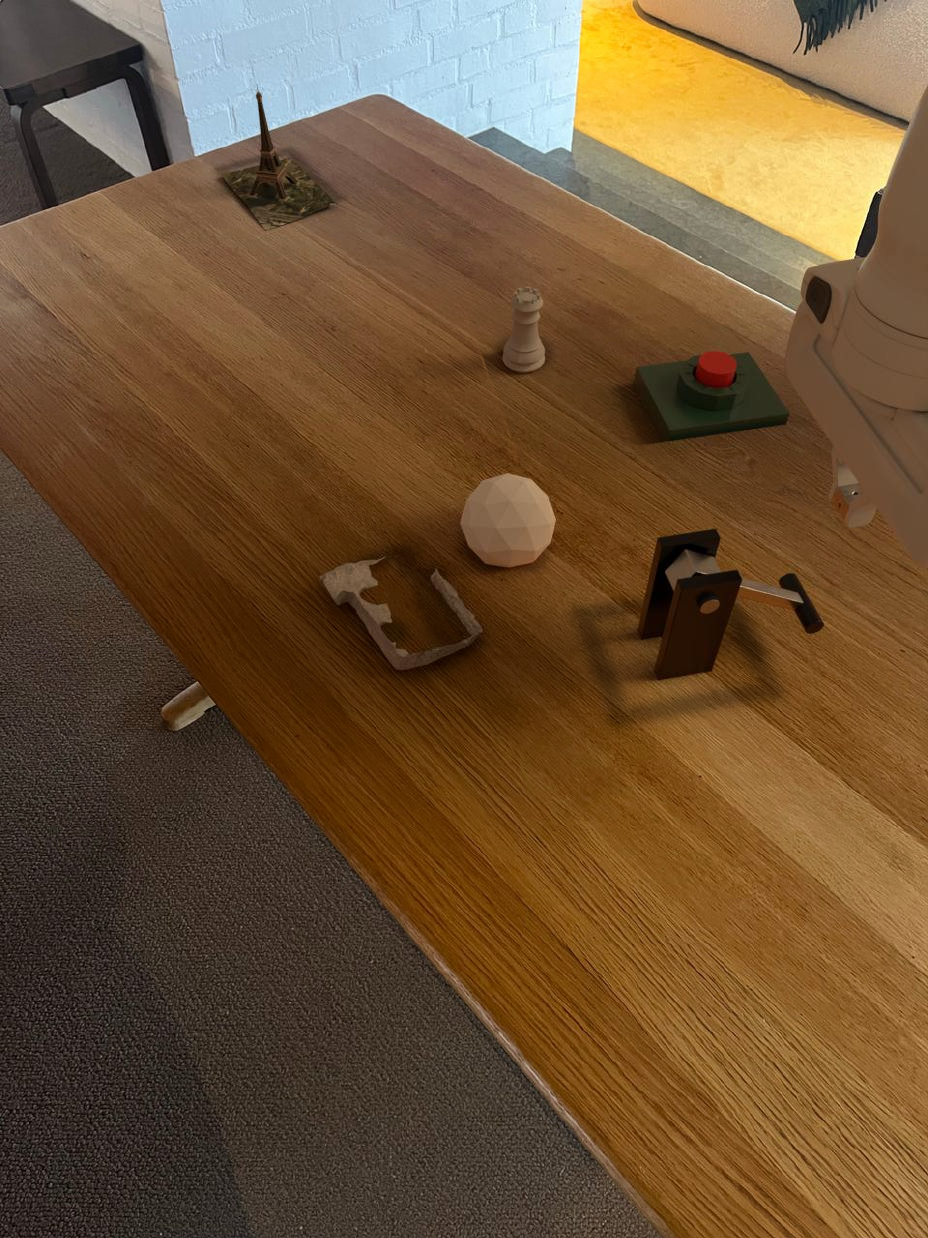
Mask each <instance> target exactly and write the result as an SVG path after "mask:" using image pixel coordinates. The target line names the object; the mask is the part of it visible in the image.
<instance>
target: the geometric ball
mask: <svg viewBox="0 0 928 1238" xmlns="http://www.w3.org/2000/svg"><path fill="white" fill-rule="evenodd" d="M556 521H557V519H556V516H555V513H554V510H553V507H552V503H551V501H550V498H549V496H548V495H547V494H546V492H544V491H543V490H542V488H540V487H539V486H538V485H537V483H536V482H534V480H532V479H531V478H529V477H524V476H520V475H517V474H513V473H509V472H506V473H502V474H499V475H496V476H493V477H490V478H489V477H488V478H486V479H483V480H482V481H480V483H479V484H478V485H477V486H476V488H475V489H474V490H473V491H472V492H471V494H470V495H469V496H468V497H467V498H466V500H465V503H464V507H463V511H462V515H461V519H460V522H459V524H460V527H461V530H462V532H463V535H464V538H465V541H466V544H467V546H468V548H469V549H470V550H472V552H473V553H474V554H475V555H476V556H477V557H478V558H479V559H480V560H481V561H482V562H483V563H484V564H486V565H489V566H496V567H503V568H513V567H519V566H524V565H528V564H531V563H534V562H535V561H536V560H537V559H538V558H539V556H540V555H542V554H543V552H544V551H545V550H546V549H547V548H548V547H549V546H550V545H551V542H552V540H553V539H552V538H553V534H554V530H555V525H556Z"/></svg>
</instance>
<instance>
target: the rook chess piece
mask: <svg viewBox="0 0 928 1238" xmlns="http://www.w3.org/2000/svg"><path fill="white" fill-rule="evenodd" d="M509 303H510V306H511V307H512V309H513V310H514V311H513V312H512V314H511V318H512V320H513V326H512V329H511V333H510V337H508V339H507V341H506V342H505V343H504V346H503V350H502V352H503V354H502V358H501V360H502V362H503V364H504V365H505V367H506V368H508V369H509V370H511V371H513V372H515V373H519V374H529V373H534V372H535V371H538V370H539V369H540V368H541V367H542V365H544V364H545V361H546V356H545V353H546V349H545V346H544V344H543V342H542V339H541V337H540V335H539V326H538V325H539V324H538V321H539V320H540V319H541V313H540V312H539V310H540V309H541V308H542V307H543V306H544V300H543V299H542V297H541V293H540V292H539V289H538V288H536V287H535V288H533V291H532V287H531V286H527V285H526V286H525V290H523V288H522V287H518V288H517V289H516V291H515V290H514V294H513V296H512V298H511V299H510V301H509Z"/></svg>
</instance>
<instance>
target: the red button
mask: <svg viewBox="0 0 928 1238" xmlns="http://www.w3.org/2000/svg"><path fill="white" fill-rule="evenodd" d="M700 355H701V356H700V357H699V360H698V364H697V369H696V373H695V377H696V380H697V381H698V382H700V383H701V384H703V385H705V386H708V387H713V388H721V387H727V386H729V385H730V384H731V383H732V381H733V378H734V374H735V370H736V366H737V363H736V361H735V359H734V358H733V357H732V356H730V354H728V353H726V352H724V351H719V350H711V351H706V352H704V353H702V354H700Z"/></svg>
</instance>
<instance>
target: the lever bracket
mask: <svg viewBox="0 0 928 1238" xmlns="http://www.w3.org/2000/svg"><path fill="white" fill-rule="evenodd" d="M721 539H722V537H721V535H720V533H719V531H718V529H717V528H710V529H703V530H698V531H691V532H690V531H689V532H685V533H678V534H671V535H664V536H658V537H657V538H656V543H655V548H654V552H653V556H652V560H651V564H650V565H651V566H650V571H649V574H648V580H647V584H646V589H645V593H644V598H643V602H642V607H641V611H640V616H639V620H638V625H637V629H636V631H637V635H638V636H639V639H640V640H641V641H643V640H644V641H645V640H649V639H650V640H651V639H656V638H661V640H660V644H659V648H658V653H657V657H656V660H655V665H654V668H653V673H654V675H655V677H656V680H657V681H663V680H669V679H675V678H680V677H687V676H691V675H692V676H693V675H697V674H698V675H699V674H703V673H708V672H712V671H713V669H714V666H715V663H716V661H717V657H718V654H719V651H720V649H721V645H722V642H723V641H724V636H725V634H726V630H727V627H728V625H729V621H730V619H731V615H732V613H733V610H734V606H735V604H736V600H737V597H738V596H737V595H738V592H739V589H740V586H741V583H742V578H743V577H742V576H741V574H740V572H739V570H738V569H732V570H726V571H721V572H719V573H713V574H707V575H701V576H694V577H688V578H682V579H677V582H676V586H675V589H674V591H673V588H672V586H671V584H670V582H669V580H668V577H667V575H666V573H665V571H666V570H667V568H668V567H669V566H670V565H671V564H672V563H673V562H674V561H675V560H676V559H677V558H678V556H679V555H680V554H681V553H682V552H683V551H684V550H685V549H686V550H690V551H694V552H697V553H701V554H704V555H708V556H712V557H714V558H715V559H716V556H717V553H718V549H719V546H720V542H721Z"/></svg>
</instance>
